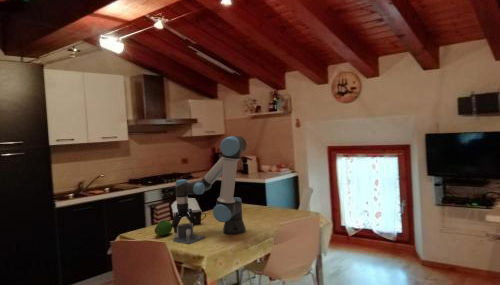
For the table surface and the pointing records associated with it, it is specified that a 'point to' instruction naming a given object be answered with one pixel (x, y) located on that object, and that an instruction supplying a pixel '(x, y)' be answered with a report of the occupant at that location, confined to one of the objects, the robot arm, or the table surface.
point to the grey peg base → (189, 238)
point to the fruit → (163, 228)
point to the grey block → (184, 229)
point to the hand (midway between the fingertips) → (184, 235)
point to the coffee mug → (197, 217)
